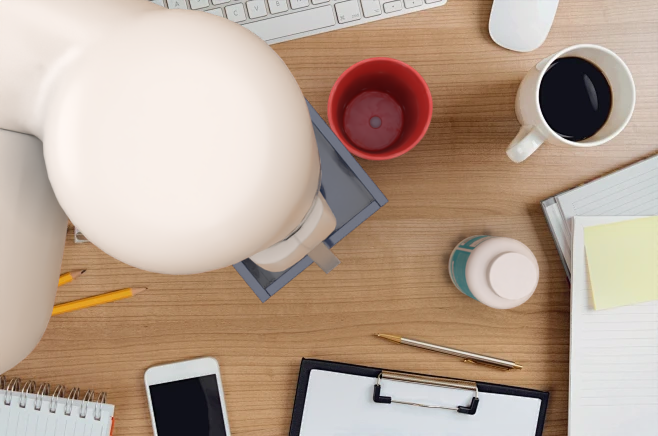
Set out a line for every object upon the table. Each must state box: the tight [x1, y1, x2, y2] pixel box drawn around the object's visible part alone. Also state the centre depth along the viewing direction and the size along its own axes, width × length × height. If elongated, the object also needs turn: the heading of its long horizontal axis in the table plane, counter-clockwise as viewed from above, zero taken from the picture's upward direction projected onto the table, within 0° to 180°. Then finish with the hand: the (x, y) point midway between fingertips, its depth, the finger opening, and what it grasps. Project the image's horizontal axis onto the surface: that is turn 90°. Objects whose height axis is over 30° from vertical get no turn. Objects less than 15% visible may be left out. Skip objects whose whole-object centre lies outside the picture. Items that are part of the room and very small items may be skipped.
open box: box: [231, 94, 390, 304], centre depth 50 cm, size 13×13×5 cm
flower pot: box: [326, 56, 434, 162], centre depth 67 cm, size 11×11×10 cm
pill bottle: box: [448, 234, 540, 310], centre depth 66 cm, size 8×7×14 cm
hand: (276, 188), depth 46 cm, fingers closed on sponge, 4 cm apart
